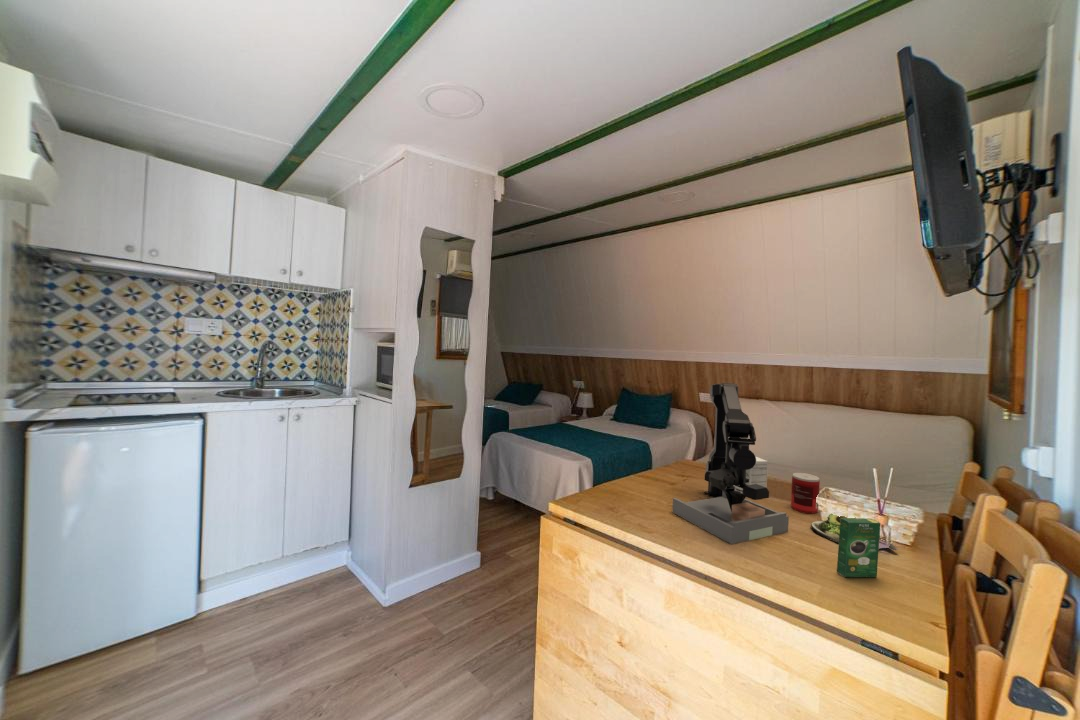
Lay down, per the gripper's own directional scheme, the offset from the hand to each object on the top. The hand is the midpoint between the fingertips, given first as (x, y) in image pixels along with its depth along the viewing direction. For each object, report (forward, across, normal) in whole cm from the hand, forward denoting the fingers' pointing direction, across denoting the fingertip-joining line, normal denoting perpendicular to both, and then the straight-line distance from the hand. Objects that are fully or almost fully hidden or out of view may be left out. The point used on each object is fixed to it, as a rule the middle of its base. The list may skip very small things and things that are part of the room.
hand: (733, 512), depth 126 cm
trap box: (+4, -2, 0) cm, 4 cm away
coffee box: (+4, +31, +5) cm, 32 cm away
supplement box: (+4, -19, +30) cm, 35 cm away
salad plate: (+4, +17, +26) cm, 31 cm away
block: (+1, +5, 0) cm, 5 cm away
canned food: (+4, -1, +32) cm, 33 cm away
